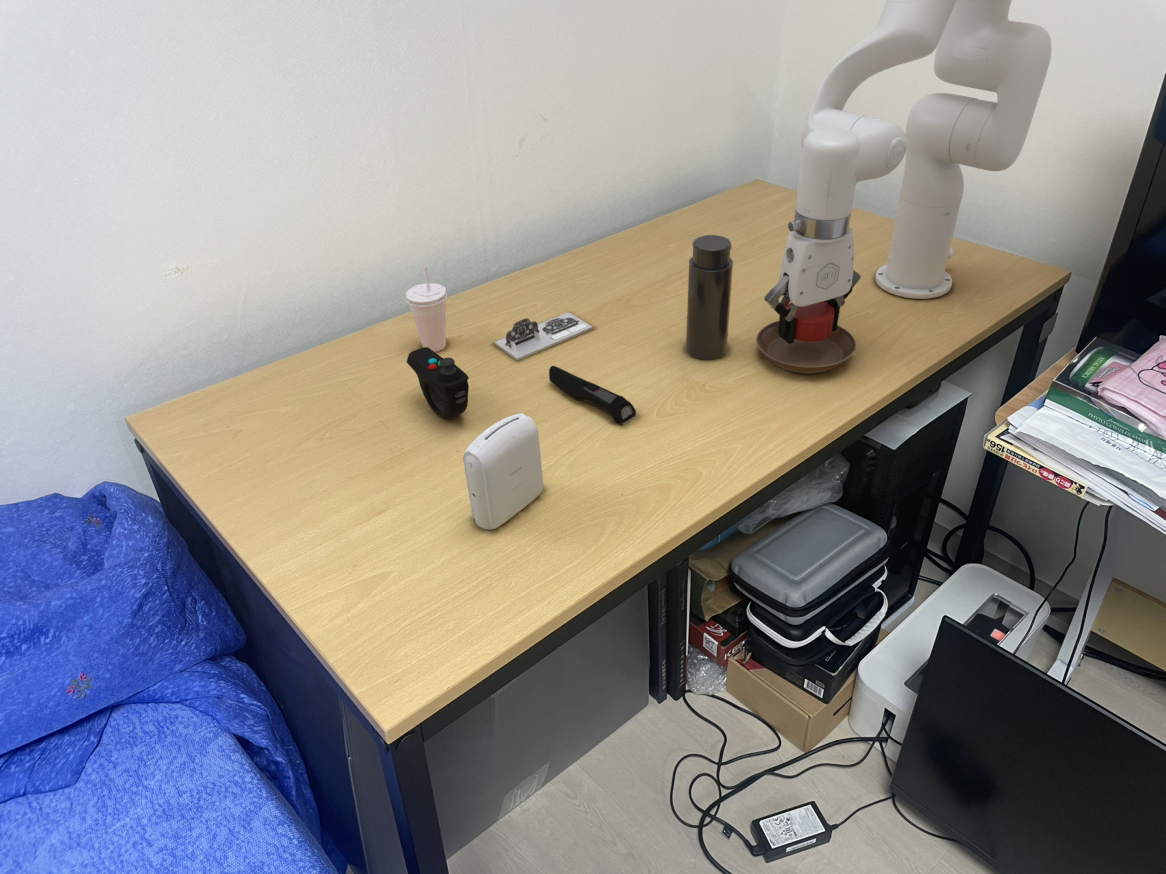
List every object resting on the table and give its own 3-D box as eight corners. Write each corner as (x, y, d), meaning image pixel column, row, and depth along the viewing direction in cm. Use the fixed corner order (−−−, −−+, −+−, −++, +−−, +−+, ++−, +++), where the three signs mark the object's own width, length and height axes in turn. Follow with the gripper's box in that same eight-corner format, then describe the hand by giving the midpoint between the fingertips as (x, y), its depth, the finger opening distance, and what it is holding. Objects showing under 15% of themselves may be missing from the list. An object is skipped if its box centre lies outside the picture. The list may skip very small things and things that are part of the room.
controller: (453, 435, 121) (443, 375, 115) (410, 398, 129) (399, 339, 123) (479, 423, 123) (471, 363, 117) (435, 387, 131) (425, 329, 125)
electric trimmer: (562, 377, 132) (560, 359, 131) (638, 415, 123) (637, 397, 121) (544, 387, 130) (542, 369, 128) (619, 427, 121) (619, 408, 119)
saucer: (736, 361, 134) (738, 345, 132) (785, 322, 143) (787, 307, 141) (824, 393, 126) (827, 377, 124) (870, 350, 135) (873, 335, 133)
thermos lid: (834, 342, 129) (837, 321, 126) (785, 341, 129) (788, 321, 127) (829, 318, 134) (832, 298, 132) (782, 318, 135) (784, 298, 133)
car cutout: (517, 360, 136) (515, 335, 134) (494, 344, 141) (491, 319, 138) (592, 329, 143) (592, 304, 141) (568, 314, 148) (567, 290, 145)
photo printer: (492, 536, 104) (481, 455, 97) (467, 521, 107) (454, 441, 99) (549, 492, 111) (542, 412, 103) (524, 479, 113) (516, 400, 106)
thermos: (703, 334, 141) (709, 229, 130) (735, 348, 137) (743, 241, 126) (677, 350, 137) (680, 243, 126) (708, 364, 133) (715, 256, 123)
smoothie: (447, 357, 138) (434, 277, 130) (408, 354, 139) (394, 274, 131) (459, 337, 143) (448, 258, 135) (422, 334, 144) (409, 256, 136)
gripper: (784, 245, 116) (772, 359, 127) (889, 219, 121) (870, 330, 132) (753, 225, 122) (744, 336, 132) (855, 201, 127) (839, 309, 138)
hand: (807, 332), depth 132 cm, fingers closed on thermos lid, 7 cm apart
